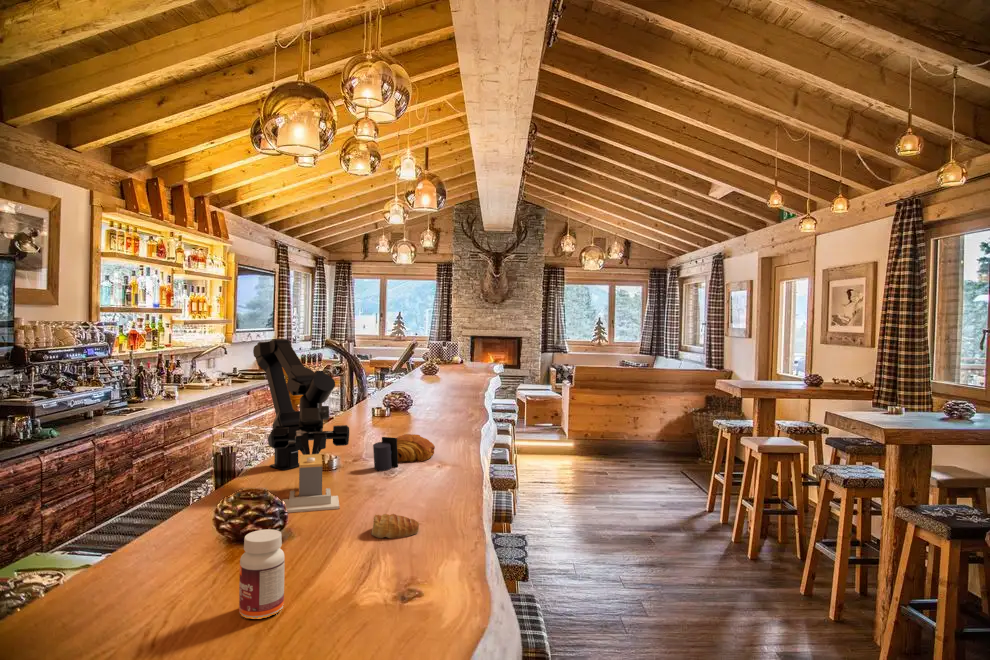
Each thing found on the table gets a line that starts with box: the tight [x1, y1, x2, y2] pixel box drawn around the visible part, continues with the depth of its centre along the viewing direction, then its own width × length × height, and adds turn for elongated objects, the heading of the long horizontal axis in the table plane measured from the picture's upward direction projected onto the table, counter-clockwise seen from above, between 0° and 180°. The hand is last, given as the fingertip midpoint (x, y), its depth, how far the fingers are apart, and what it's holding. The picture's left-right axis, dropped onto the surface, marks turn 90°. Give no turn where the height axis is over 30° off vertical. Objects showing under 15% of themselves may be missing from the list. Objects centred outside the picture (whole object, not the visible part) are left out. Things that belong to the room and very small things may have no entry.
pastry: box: [371, 513, 420, 539], centre depth 120 cm, size 9×7×4 cm
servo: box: [298, 453, 323, 497], centre depth 139 cm, size 10×5×10 cm, turn 17°
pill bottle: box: [238, 528, 286, 618], centre depth 87 cm, size 6×6×11 cm
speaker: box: [372, 436, 399, 472], centre depth 169 cm, size 6×5×9 cm
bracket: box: [282, 487, 340, 514], centre depth 135 cm, size 8×13×2 cm, turn 107°
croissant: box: [396, 433, 436, 463], centre depth 183 cm, size 14×16×8 cm
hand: (310, 465), depth 144 cm, fingers closed, pressing on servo
